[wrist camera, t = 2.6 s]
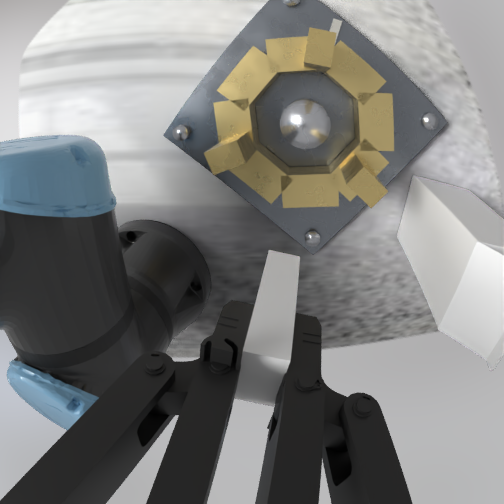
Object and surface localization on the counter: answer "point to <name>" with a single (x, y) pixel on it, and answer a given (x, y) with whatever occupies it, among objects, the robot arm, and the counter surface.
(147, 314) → the robot arm
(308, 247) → the flange plate
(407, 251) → the milk carton
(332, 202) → the gold foil sensor mount
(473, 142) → the counter surface
